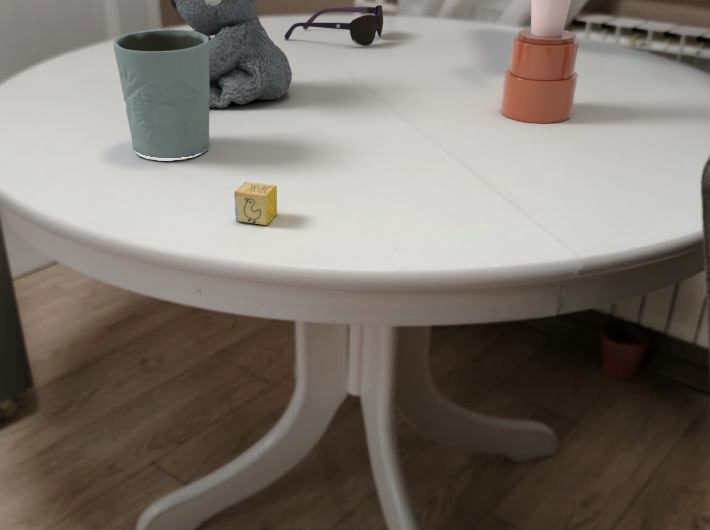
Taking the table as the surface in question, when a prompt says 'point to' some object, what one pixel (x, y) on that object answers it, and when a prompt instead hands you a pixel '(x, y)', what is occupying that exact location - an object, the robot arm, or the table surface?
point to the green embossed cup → (165, 90)
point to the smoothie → (548, 17)
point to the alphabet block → (255, 203)
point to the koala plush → (237, 51)
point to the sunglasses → (351, 24)
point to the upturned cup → (540, 78)
